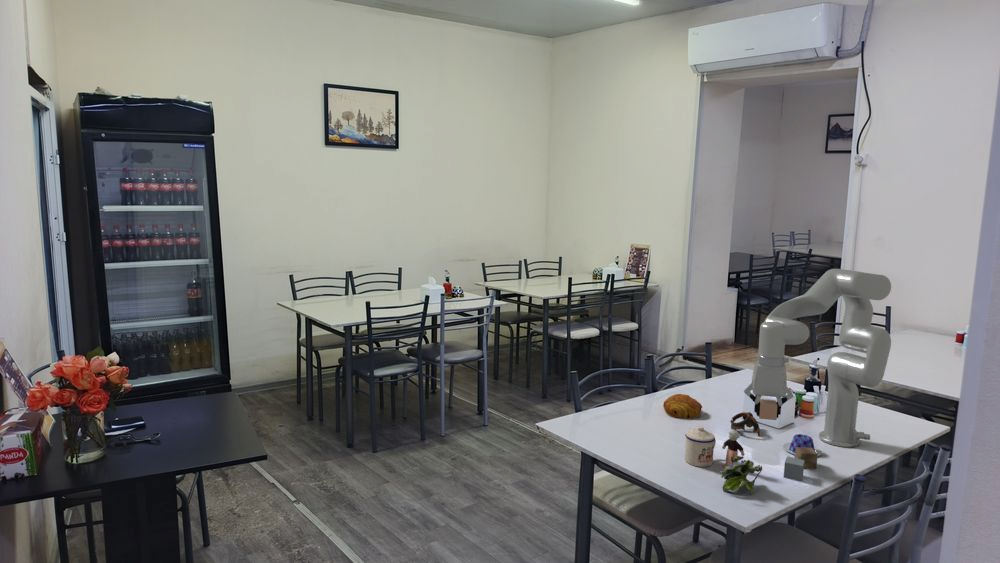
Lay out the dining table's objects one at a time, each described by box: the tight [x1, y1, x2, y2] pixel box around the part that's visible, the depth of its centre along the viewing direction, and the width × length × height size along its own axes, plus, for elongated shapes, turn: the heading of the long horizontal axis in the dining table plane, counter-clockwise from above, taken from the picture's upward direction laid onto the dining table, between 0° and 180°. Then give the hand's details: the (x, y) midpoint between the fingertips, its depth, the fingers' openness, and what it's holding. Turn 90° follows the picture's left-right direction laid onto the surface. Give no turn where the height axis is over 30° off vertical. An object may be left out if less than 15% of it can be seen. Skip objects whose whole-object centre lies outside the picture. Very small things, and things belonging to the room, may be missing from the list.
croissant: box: [662, 393, 703, 419], centre depth 250 cm, size 14×16×8 cm
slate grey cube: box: [783, 456, 805, 482], centre depth 196 cm, size 5×5×5 cm
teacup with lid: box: [684, 425, 717, 468], centre depth 206 cm, size 12×9×12 cm
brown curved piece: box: [730, 411, 761, 437], centre depth 232 cm, size 12×10×8 cm
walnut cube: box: [794, 447, 819, 470], centre depth 204 cm, size 5×5×5 cm
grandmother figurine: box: [721, 429, 745, 468], centre depth 201 cm, size 8×4×13 cm, turn 47°
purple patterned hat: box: [782, 433, 823, 457], centre depth 216 cm, size 12×12×5 cm
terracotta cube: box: [758, 398, 778, 421], centre depth 205 cm, size 5×5×5 cm
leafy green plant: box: [719, 455, 763, 496], centre depth 187 cm, size 11×11×12 cm
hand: (767, 415), depth 205 cm, fingers closed on terracotta cube, 5 cm apart
